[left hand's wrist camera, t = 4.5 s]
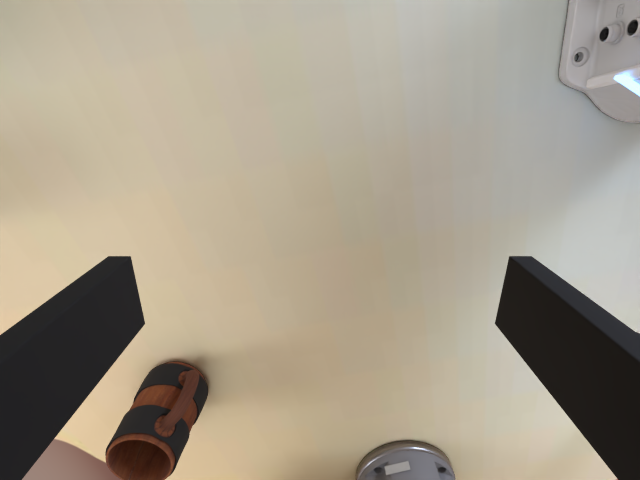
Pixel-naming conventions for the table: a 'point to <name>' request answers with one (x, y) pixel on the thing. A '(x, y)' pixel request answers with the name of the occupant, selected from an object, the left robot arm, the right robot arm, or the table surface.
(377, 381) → the table surface
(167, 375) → the mug
